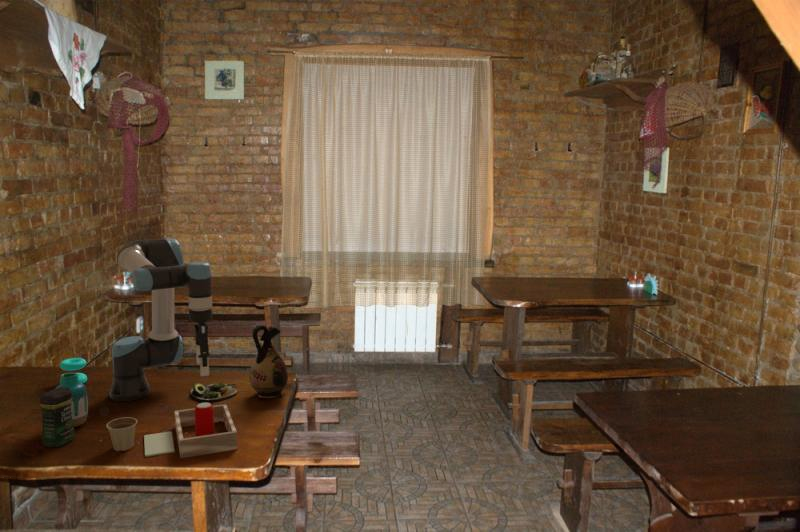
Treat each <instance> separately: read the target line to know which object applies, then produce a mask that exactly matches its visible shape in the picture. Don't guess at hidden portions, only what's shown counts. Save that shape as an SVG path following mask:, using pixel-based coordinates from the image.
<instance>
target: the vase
mask: <svg viewBox="0 0 800 532" xmlns="http://www.w3.org/2000/svg"><path fill="white" fill-rule="evenodd" d="M77 373H78V372H66V373H63V374H61V375H60V381H59V382H60V383H59V385H58V386H56V387H55V389H56V388H59V387H66V388H70V390H71V392H72V402H71V413H72V420H73V426H74V428H76V427H79V426H81V425H83V424H84V423H85V422H86V420H87V418H88V413H89V402H88V401H89V399H88V393H87V387H86V385H85V384H84V383H80V382H79V381H78V375H77Z"/></svg>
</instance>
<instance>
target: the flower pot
mask: <svg viewBox="0 0 800 532" xmlns="http://www.w3.org/2000/svg"><path fill="white" fill-rule="evenodd" d="M137 424H138V419H136V418H134V417H127V416H125V417H119V418H115V419H112V420H110V421H109V422H107V423H106V426H105V427H106V429H107V431H108V432H109V435H110V439H111V443H112V447H113V448H112V449H113V450H114V451H116V452H120V451H122V452H123V451H128V450H130V449H132V448H133V447H134V445H135V433H136V428H137Z"/></svg>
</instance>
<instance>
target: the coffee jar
mask: <svg viewBox="0 0 800 532" xmlns="http://www.w3.org/2000/svg"><path fill="white" fill-rule="evenodd" d="M71 402H72V392H71V390H70V388H66V387H59V388H56V387H55V388H54V389H52V390H50V391H47V392H45V393H43V394H41V395H40V397H39V406H40V408H41V413H42V431H41V432H42V434H41V441H42V442H41V444H42V446H45V447H48V448H54V447H55V448H57V447H59V448H60V447H62V446H64V445H66V444H68V443H70V442H71V441H73V440H74V439H75V437H76V435H75V427H74V426H73V420H72V413H71Z"/></svg>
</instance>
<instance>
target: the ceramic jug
mask: <svg viewBox="0 0 800 532" xmlns="http://www.w3.org/2000/svg"><path fill="white" fill-rule="evenodd" d="M261 331H263V333H262V334H261V337H260V339H259V337H258V333H259V332H261ZM279 334H281V330H279V328H277V327H275V326H273V327H272V326H269V328H268V327H267V326H266V325H263V324H257V325H255V327H254V328H253V329H252V339H253V342H254V345H255V347H256V350H257V354H256V356H255V358H254V359H253V362H252V364H251V366H250V370H249V382H250V386H251V388H253V390H254V391H255V392H256V394H257V395H258V398H262V399H275V398H279V397H282V391H284V389H285V388H286V385H287V383H288V380H289V372H288V369H287V365H286V363H285V361H284V358H282V356H281V354H280V353H279V352H278V351H277V350H276V348H275V347H274V346H273V342H272V339H274V338H275V337H276V336H278V335H279ZM260 341H262V345H261V343H260Z"/></svg>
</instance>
